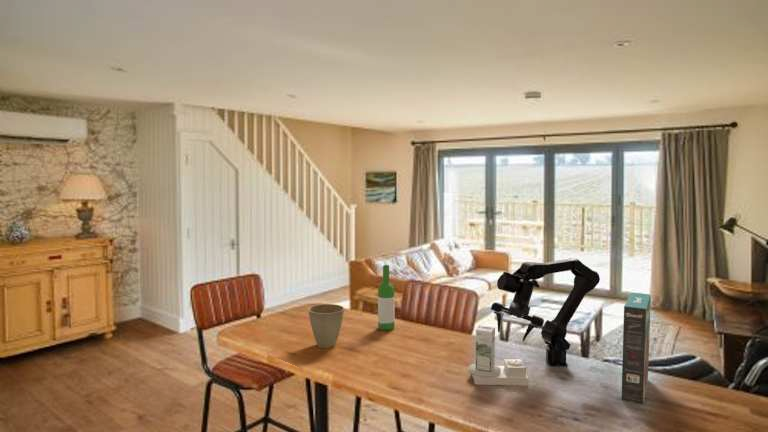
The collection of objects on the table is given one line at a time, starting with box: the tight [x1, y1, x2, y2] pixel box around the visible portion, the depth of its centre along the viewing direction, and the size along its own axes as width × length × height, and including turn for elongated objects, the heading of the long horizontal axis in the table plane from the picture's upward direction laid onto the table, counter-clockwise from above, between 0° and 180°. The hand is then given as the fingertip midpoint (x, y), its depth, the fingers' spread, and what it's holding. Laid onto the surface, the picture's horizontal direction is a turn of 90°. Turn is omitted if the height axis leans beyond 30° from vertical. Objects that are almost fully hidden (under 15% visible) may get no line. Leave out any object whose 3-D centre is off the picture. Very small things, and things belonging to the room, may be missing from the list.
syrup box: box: [475, 325, 496, 372], centre depth 171 cm, size 6×6×14 cm
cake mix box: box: [621, 292, 652, 405], centre depth 161 cm, size 22×6×30 cm, turn 148°
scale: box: [468, 358, 530, 386], centre depth 171 cm, size 20×11×6 cm, turn 87°
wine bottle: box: [377, 264, 396, 331], centre depth 230 cm, size 8×8×30 cm
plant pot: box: [307, 303, 345, 349], centre depth 207 cm, size 15×15×16 cm
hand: (510, 336), depth 180 cm, fingers open, 9 cm apart
